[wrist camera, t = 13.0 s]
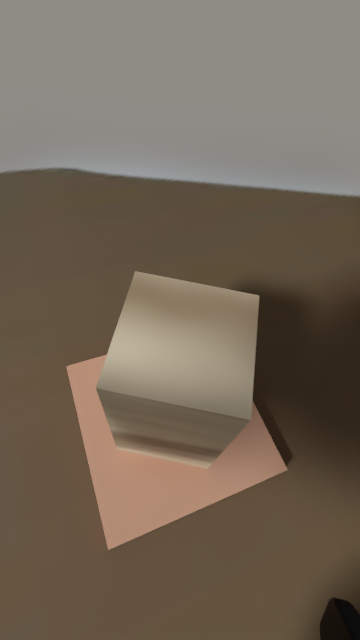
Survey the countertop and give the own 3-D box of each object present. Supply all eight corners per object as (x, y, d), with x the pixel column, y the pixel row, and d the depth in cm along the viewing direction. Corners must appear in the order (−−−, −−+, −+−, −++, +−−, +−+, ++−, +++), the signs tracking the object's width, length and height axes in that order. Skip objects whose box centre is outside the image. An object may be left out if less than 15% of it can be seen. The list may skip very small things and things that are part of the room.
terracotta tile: (281, 473, 21) (287, 469, 20) (110, 549, 18) (108, 550, 17) (211, 331, 27) (213, 323, 26) (69, 373, 24) (66, 366, 23)
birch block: (207, 468, 20) (251, 420, 12) (117, 449, 20) (95, 388, 12) (218, 383, 23) (259, 295, 15) (139, 367, 23) (135, 271, 15)
